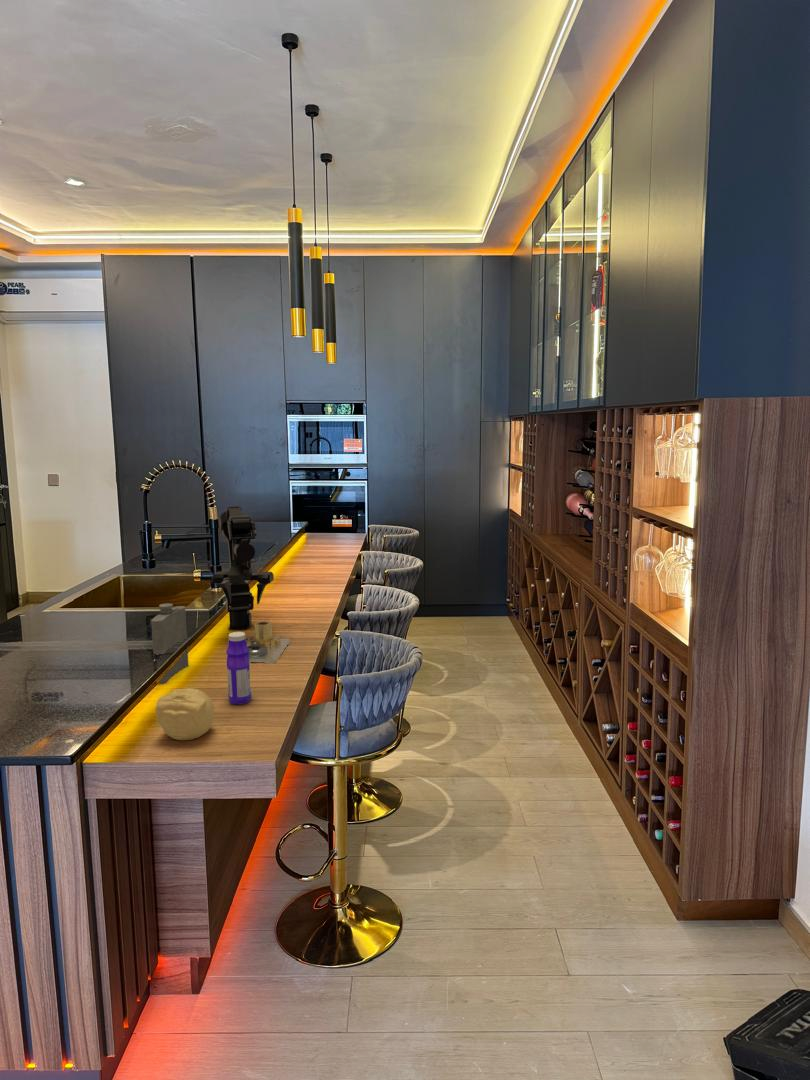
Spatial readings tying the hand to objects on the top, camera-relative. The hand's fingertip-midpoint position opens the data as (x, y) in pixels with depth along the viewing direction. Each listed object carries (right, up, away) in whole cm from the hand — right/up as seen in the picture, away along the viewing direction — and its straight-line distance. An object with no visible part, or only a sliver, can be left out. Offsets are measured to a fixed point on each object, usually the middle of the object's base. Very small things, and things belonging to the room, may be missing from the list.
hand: (244, 603), depth 226 cm
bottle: (+10, -20, -48) cm, 53 cm away
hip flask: (-14, -17, -29) cm, 36 cm away
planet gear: (+8, -12, -6) cm, 15 cm away
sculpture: (+3, -24, -67) cm, 71 cm away
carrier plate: (+7, -14, -10) cm, 19 cm away
